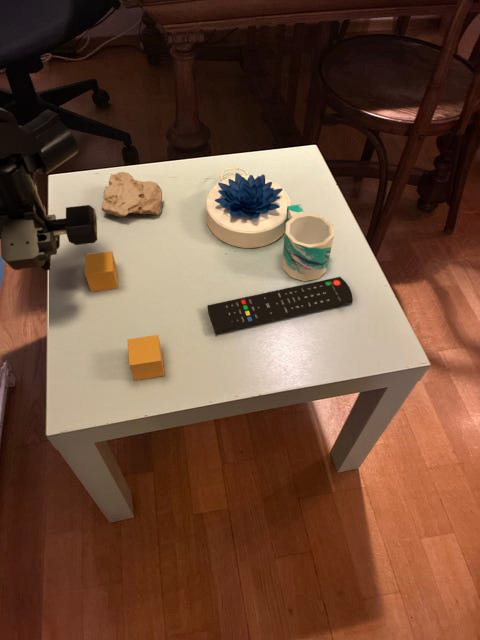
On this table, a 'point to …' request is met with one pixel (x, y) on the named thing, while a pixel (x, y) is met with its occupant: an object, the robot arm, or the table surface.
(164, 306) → the table surface
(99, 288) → the ochre block middle
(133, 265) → the table surface
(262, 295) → the remote control
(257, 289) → the table surface
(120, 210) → the stone
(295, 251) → the mug
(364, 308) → the table surface
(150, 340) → the ochre block near
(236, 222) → the box with blue lotus
